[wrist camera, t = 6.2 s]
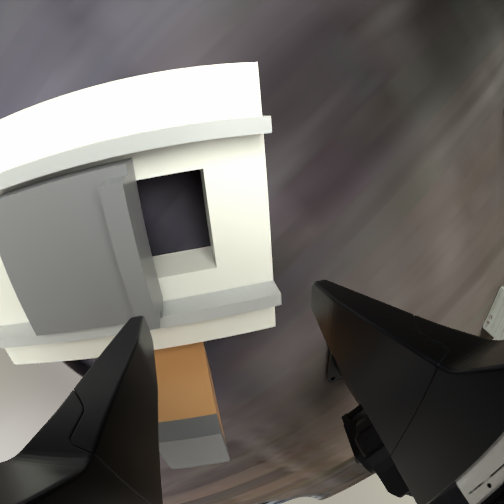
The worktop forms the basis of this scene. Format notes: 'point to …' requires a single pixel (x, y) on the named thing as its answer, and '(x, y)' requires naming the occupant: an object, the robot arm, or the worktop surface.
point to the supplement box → (496, 317)
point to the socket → (152, 165)
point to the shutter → (80, 250)
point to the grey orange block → (188, 408)
